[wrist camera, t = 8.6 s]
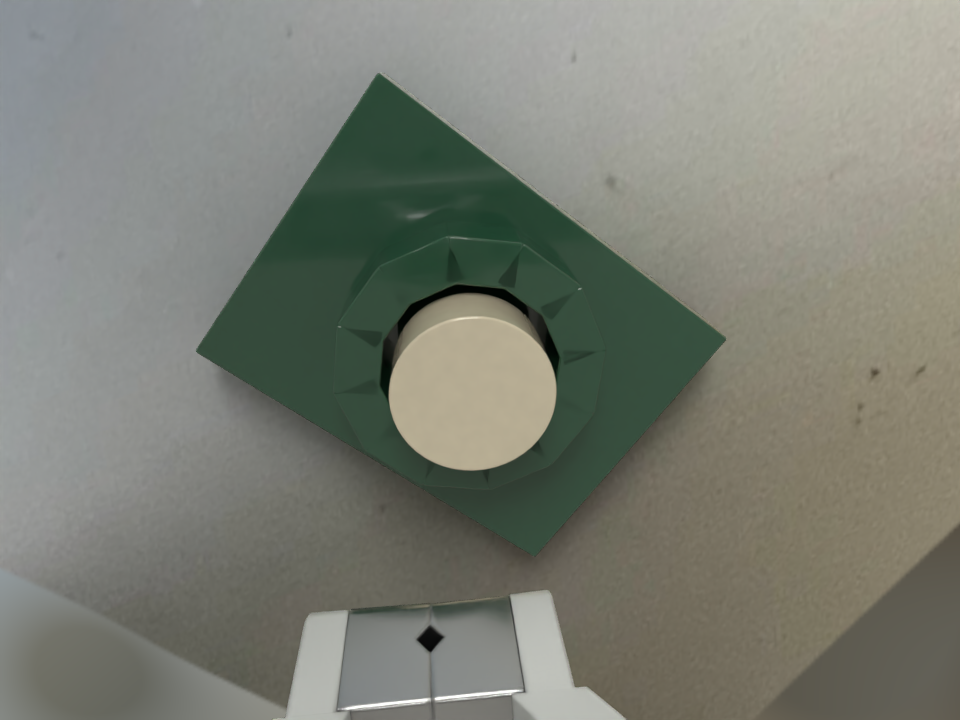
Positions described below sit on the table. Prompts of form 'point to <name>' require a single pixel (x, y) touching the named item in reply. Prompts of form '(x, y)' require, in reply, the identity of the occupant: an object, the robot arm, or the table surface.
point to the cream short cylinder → (471, 382)
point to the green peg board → (442, 272)
